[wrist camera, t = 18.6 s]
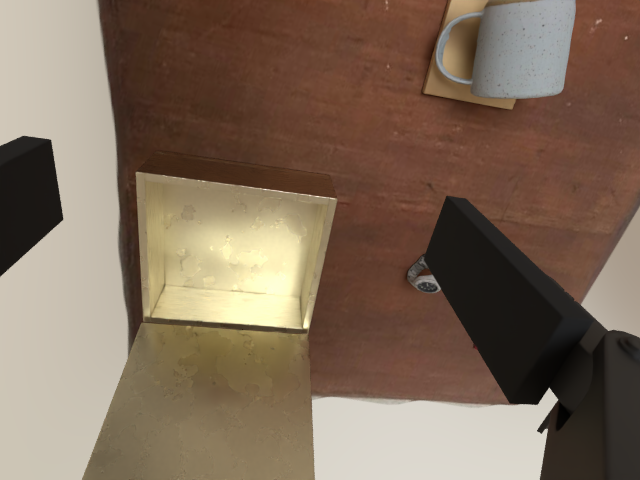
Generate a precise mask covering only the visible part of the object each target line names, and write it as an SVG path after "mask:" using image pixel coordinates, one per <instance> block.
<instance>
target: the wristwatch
mask: <svg viewBox="0 0 640 480" xmlns="http://www.w3.org/2000/svg"><path fill="white" fill-rule="evenodd" d="M424 257H425V254H424V255H422V256H421V257H420V258H419V260H418V261H417V262H416V263H415V264H413V265H412V267H411V268H410V269H409V271H408V274H407V279H408V281H409V282H410V283H411V284H412V285H413V286H414V287H416V288H417V289H418V290H420V291H422V292H426V293H435V292H438V291H439V290H440V289H441V288H440V286H439V285H438V283H437V281H436V280H435V278H434V276H433V275H429V276H419V277H417V275H418V274H419V273H420V272H421V270H423V269H425V268H426V269H428V266H427V265H426V263H425V261H424V260H423V259H424ZM416 277H417V278H416Z"/></svg>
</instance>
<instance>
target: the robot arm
mask: <svg viewBox="0 0 640 480" xmlns="http://www.w3.org/2000/svg"><path fill="white" fill-rule="evenodd" d="M62 220H63V214H62V207H61V201H60V194H59V188H58V182H57V175H56V169H55V162H54V156H53V149H52V143H51V140H49V139H43V138H35V137H28V136H22V137H20V138H17V139H15V140H13V141H10V142H8V143H6V144H4V145H1V146H0V276H1V275H2V274H4V273H5V272H6V271H7V270H8V269H9V268H10V267H11V266H12V265H13V264H14V263H16V262H17V261H18V260H19V259H20V258H21V257H22V256H23V255H25V254H26V253H27V252H28V251H29V250H30V249H31V248H32V247H33V246H35V245H36V244H37V243H38V242H39V241H40V240H41V239H42V238H43V237H45V236H46V235H47V234H48V233H49V232H50V231H51V230H52V229H53V228H54V227H56V226H57V225H58V224H59V223H60V222H61V221H62ZM423 260H424V261H425V263H426V265H427V266H428V268H429V270H430V271H431V273H432V275H433V276H434V278H435V280H436V281H437V283H438V285H439V286H440V288H441V290H442V291H443V293H444V295H445V296H446V298H447V300H448V301H449V303H450V305H451V306H452V308H453V310H454V311H455V313H456V315H457V316H458V318H459V320H460V321H461V323H462V325H463V326H464V328H465V330H466V331H467V333H468V335H469V336H470V338H471V340H472V341H473V343H474V345H475V346H476V348H477V350H478V351H479V353H480V355H481V356H482V358H483V360H484V361H485V363H486V365H487V366H488V368H489V370H490V371H491V373H492V375H493V376H494V378H495V380H496V381H497V383H498V385H499V386H500V388H501V390H502V391H503V393H504V395H505V396H506V398H507V400H508V401H509V403H510V404H532V405H533V404H534V405H537V404H538V403H539V402H540V400H541V399H542V397H543V395H544V394H545V393H546V391H547V390H548V388H550V389H551V390H552V392H553V393H554V394H555V396H556V397H557V398H558V401H557V403H556V404H555V405H554V407H553V408H552V410H551V411H550V413H549V414H548V415H547V417H546V418H545V420H544V421H543V423H542V424H541V425H540V427H539V428H538V430H537V431H538V432H540V433H541V434H542V432H543V431H544V430H545V429H548V433H547V439H546V445H545V451H544V458H543V464H542V470H541V476H540V480H640V338H639V337H637V336H634V335H632V334H629V333H626V332H623V331H616V330H612V331H608V330H607V329H605V328H604V327H603V326H602V325H601V324H600V323H599V322H598V321H597V320H596V319H595V318H594V317H593V316H592V315H590V313H588V312H587V311H586V310H585V309H584V308H583V307H582V306H581V305H580V304H579V303H578V302H576V301H574V298H573V297H572V296H570V295H569V294H568V293H567V292H564V289H563V288H562V287H561V286H560V285H559V284H558V283H557V282H556V281H555V280H553V279H552V278H551V277H549V276H548V275H546V274H545V273H544V272H543V271H541V270H540V269H539V268H538V267H537V266H536V265H535V264H534V263H533V262H532V261H531V260H530V259H529V258H528V257H527V256H526V255H525V254H524V253H523V252H521V251H520V250H519V249H518V248H517V247H516V246H515V245H514V244H513V243H512V242H511V241H510V240H509V239H508V238H507V237H506V236H505V235H504V234H503V233H501V232H500V231H499V230H498V229H497V228H496V227H495V226H494V225H493V224H492V223H491V222H490V221H489V220H488V219H487V218H486V217H485V216H484V215H483V214H482V213H480V212H479V211H478V210H477V209H476V208H475V207H474V206H473V205H472V204H471V203H470V202H469V201H468V200H467V199H465V198H458V197H451V196H446V199H445V202H444V204H443V207H442V210H441V213H440V215H439V218H438V221H437V224H436V226H435V229H434V232H433V235H432V237H431V240H430V243H429V246H428V248H427V251H426V254H425V257H424V259H423Z"/></svg>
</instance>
